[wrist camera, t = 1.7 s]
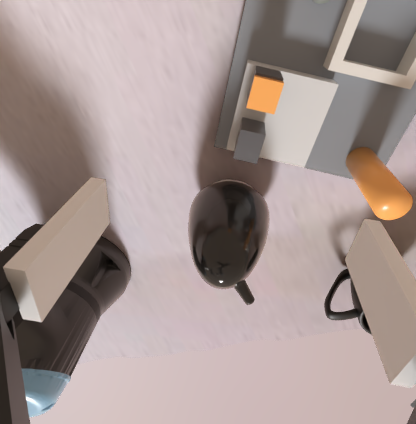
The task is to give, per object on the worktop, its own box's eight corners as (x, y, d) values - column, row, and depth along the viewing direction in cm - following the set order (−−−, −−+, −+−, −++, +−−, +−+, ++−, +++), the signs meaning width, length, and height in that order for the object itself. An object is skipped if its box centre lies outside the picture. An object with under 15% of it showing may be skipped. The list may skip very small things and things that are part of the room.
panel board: (215, 142, 38) (211, 154, 35) (261, -70, 27) (262, -82, 23) (370, 178, 38) (381, 194, 35) (481, -18, 27) (513, -22, 24)
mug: (314, 248, 45) (327, 299, 37) (404, 241, 43) (438, 293, 35) (316, 287, 49) (328, 339, 42) (398, 283, 47) (427, 338, 39)
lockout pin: (340, 169, 36) (366, 215, 28) (353, 144, 34) (384, 185, 26) (366, 175, 36) (400, 223, 28) (380, 150, 35) (420, 194, 26)
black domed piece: (224, 241, 47) (213, 327, 34) (180, 192, 43) (149, 268, 30) (282, 211, 42) (295, 295, 30) (240, 153, 38) (233, 222, 26)
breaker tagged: (246, 97, 31) (245, 110, 27) (255, 65, 29) (255, 73, 25) (271, 103, 31) (273, 116, 27) (280, 71, 29) (285, 80, 25)
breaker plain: (235, 143, 33) (233, 158, 30) (242, 116, 32) (240, 129, 28) (256, 148, 33) (256, 164, 30) (264, 122, 32) (265, 135, 28)
